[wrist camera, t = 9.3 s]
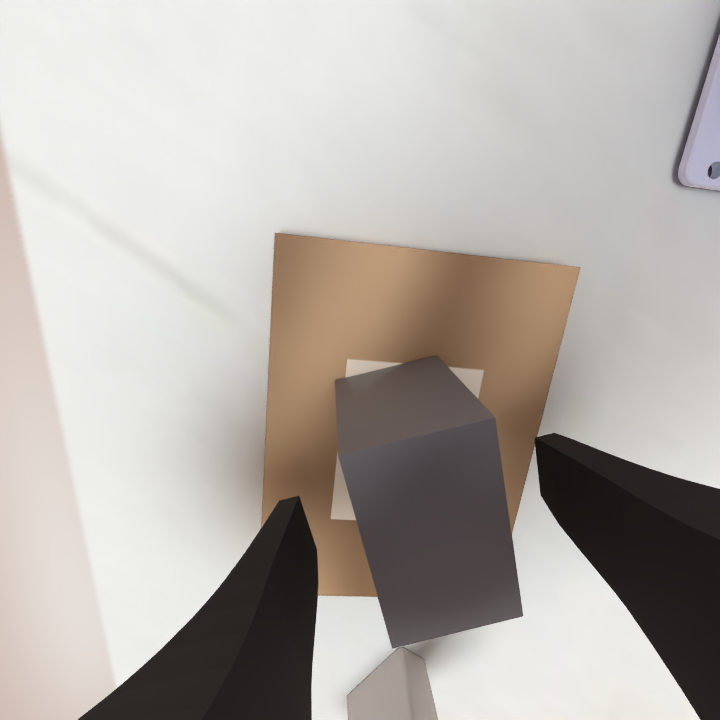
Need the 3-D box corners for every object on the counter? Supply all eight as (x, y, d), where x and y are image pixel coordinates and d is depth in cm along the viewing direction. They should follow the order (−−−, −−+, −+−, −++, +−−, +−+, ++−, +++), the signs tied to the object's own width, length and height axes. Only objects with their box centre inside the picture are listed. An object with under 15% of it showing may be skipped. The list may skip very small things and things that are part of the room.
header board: (563, 265, 14) (617, 271, 12) (486, 580, 18) (513, 639, 15) (278, 233, 13) (266, 231, 11) (262, 574, 17) (249, 636, 14)
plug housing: (437, 355, 14) (495, 417, 9) (463, 499, 15) (523, 616, 11) (334, 380, 14) (337, 456, 9) (372, 521, 15) (392, 648, 11)
